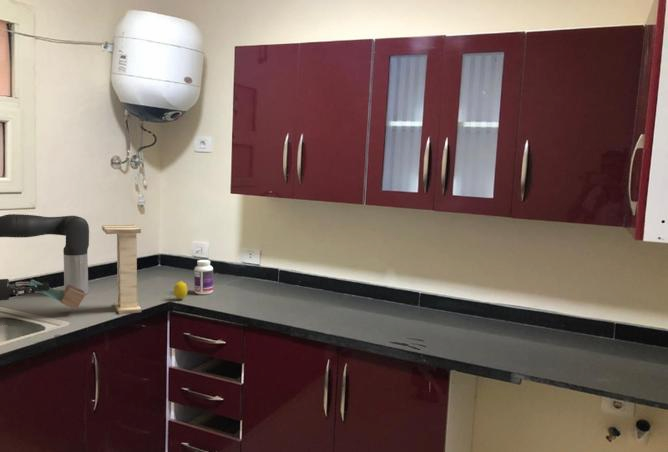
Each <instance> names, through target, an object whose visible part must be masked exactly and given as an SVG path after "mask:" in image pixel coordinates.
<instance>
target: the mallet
mask: <svg viewBox="0 0 668 452" xmlns="http://www.w3.org/2000/svg"><path fill="white" fill-rule="evenodd" d="M29 282H30V283H29V284H30V285H37V286H38V285H43V284H41V283H42V282H39V281H36V280H34V279H31V280H30V281H29ZM37 293H41V294H43V295H45V296H48V297H49V298H52V299H54V300H57V301H59V303H60V304H62V305H64V306H66V307H69V308H71V309H74V310H78V308H79V306H80V305H81V303H82V301H83V300H84V299H85V296H86V294H84V291H83V290H81V289H79V288H76V287H74V286H72V285H70V284H68V285H67V287H66V288H65V290H64V289H63V292H61V291H59V290H57V289H55V288H52V287H50V286H49V290H48V291H37Z"/></svg>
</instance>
